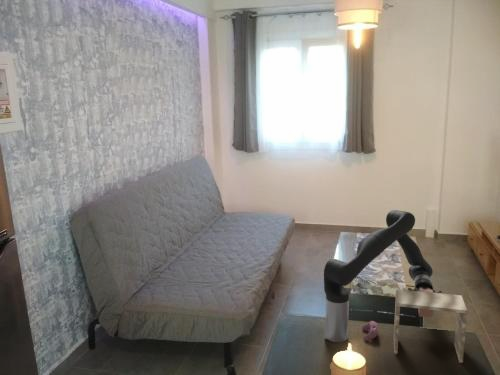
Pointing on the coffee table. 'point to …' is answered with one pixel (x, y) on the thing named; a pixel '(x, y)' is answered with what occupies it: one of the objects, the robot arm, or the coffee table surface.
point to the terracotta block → (425, 311)
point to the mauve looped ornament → (370, 330)
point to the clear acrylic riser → (433, 303)
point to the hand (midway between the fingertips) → (426, 302)
